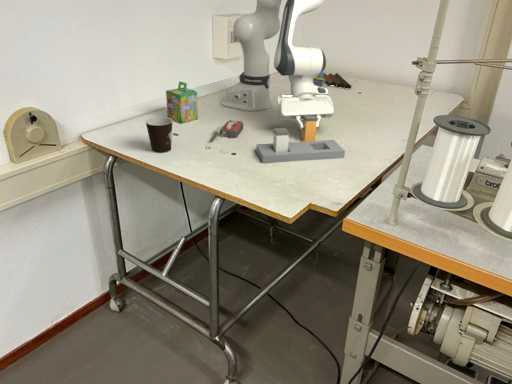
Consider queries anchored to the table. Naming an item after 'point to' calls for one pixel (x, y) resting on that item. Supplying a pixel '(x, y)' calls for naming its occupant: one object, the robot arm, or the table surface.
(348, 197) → the table surface
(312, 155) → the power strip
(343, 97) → the table surface
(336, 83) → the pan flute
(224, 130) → the walkie-talkie
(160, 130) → the coffee mug
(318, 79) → the label tape box
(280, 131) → the white plug
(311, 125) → the orange plug
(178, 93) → the chalk box
